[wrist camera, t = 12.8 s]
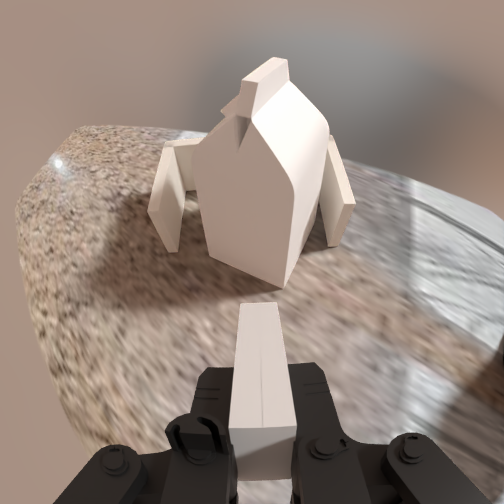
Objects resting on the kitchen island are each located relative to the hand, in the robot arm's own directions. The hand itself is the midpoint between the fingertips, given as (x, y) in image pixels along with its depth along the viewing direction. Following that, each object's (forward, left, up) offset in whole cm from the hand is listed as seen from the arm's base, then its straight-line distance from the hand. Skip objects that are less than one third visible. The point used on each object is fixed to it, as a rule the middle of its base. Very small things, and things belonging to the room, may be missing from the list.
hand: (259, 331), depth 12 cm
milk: (-1, -20, -24) cm, 31 cm away
